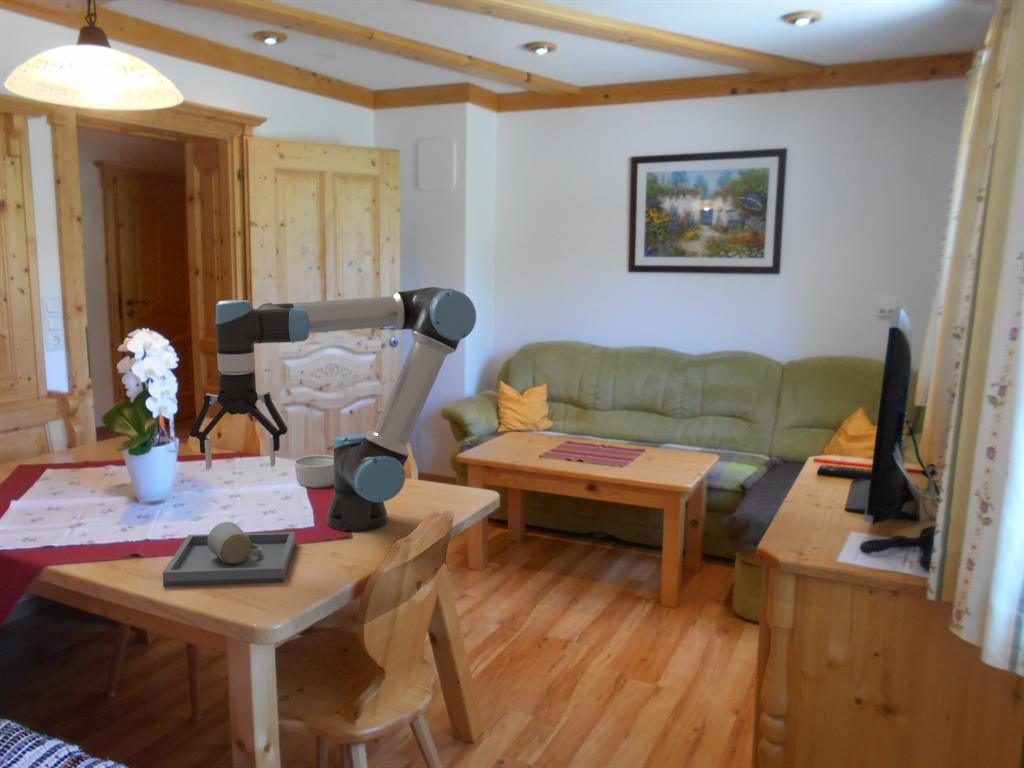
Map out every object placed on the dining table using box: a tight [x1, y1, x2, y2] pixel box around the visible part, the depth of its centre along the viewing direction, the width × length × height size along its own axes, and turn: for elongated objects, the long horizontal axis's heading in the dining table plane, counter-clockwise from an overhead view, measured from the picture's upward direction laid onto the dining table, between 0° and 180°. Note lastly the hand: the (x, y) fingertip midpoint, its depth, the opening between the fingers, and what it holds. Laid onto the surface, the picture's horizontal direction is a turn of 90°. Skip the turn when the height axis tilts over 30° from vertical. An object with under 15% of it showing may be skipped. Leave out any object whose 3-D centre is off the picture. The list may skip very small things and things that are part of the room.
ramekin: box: [293, 454, 334, 489], centre depth 238 cm, size 13×13×7 cm
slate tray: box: [162, 531, 296, 587], centre depth 176 cm, size 24×22×3 cm
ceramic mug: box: [208, 521, 262, 564], centre depth 176 cm, size 11×8×8 cm
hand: (241, 466), depth 177 cm, fingers open, 13 cm apart
